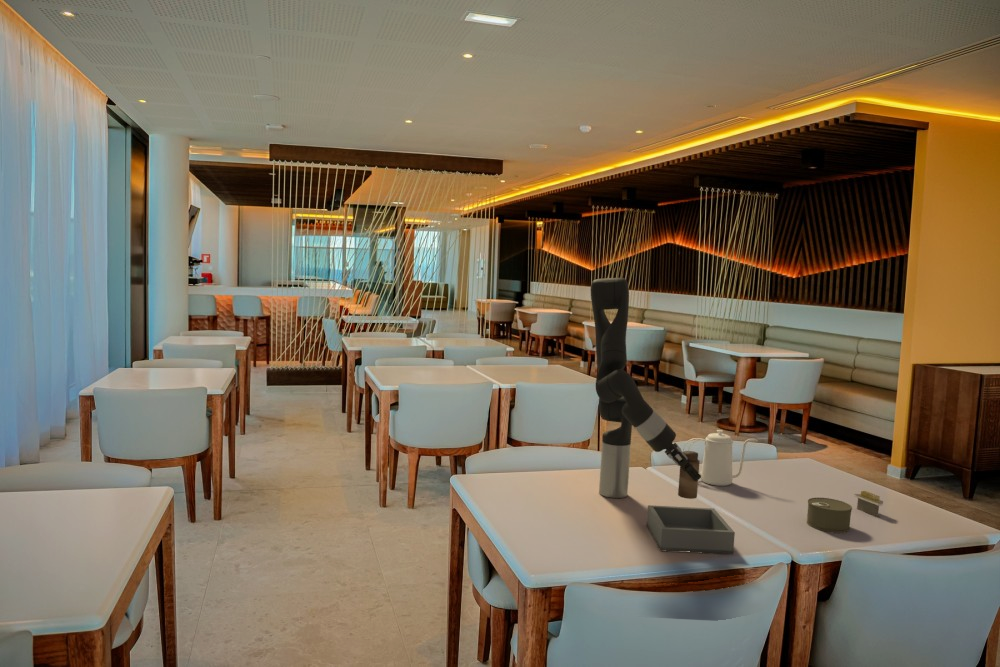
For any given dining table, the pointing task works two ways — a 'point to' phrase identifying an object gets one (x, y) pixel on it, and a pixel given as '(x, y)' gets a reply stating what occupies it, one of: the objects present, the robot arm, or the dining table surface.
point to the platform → (868, 503)
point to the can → (829, 515)
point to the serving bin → (690, 529)
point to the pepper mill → (688, 477)
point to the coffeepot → (719, 459)
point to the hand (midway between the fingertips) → (695, 475)
